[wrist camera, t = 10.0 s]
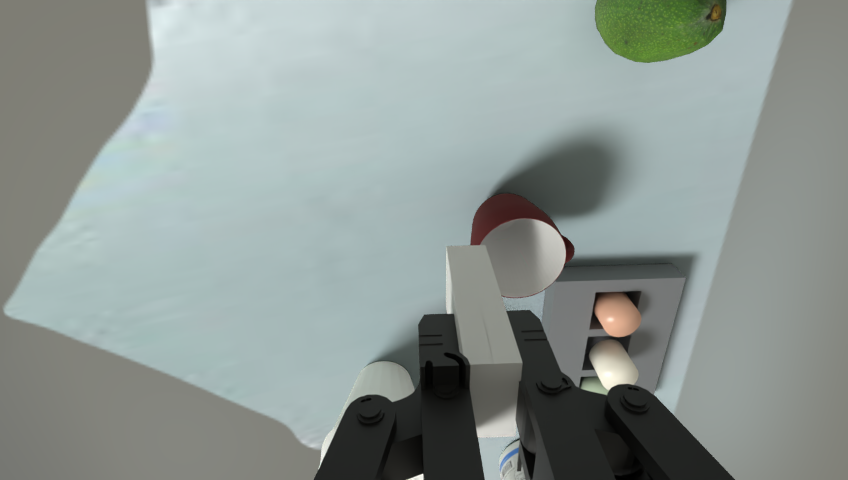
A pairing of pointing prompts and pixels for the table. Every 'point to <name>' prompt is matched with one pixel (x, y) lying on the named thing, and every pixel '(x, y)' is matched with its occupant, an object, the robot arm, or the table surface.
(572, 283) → the button panel
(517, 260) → the mug
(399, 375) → the cup
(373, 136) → the table surface
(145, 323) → the table surface
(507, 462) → the supplement tub
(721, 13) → the fruit
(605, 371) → the button cream
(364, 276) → the table surface
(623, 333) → the button terracotta
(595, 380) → the button sage
